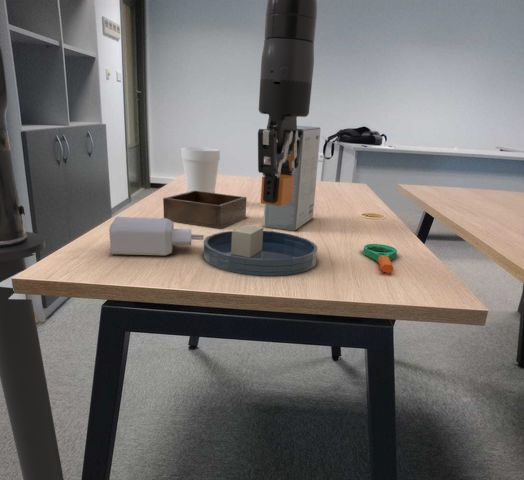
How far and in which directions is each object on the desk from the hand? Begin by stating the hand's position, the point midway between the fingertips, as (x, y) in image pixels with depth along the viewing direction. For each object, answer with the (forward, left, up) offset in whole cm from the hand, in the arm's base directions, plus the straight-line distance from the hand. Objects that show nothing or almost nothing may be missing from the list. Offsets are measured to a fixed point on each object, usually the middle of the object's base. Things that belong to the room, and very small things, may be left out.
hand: (276, 199), depth 76 cm
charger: (-19, -5, -10) cm, 22 cm away
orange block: (0, 0, -1) cm, 1 cm away
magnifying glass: (+17, +10, -10) cm, 22 cm away
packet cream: (-5, 0, -9) cm, 11 cm away
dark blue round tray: (-2, 0, -10) cm, 10 cm away
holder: (-24, +22, -10) cm, 34 cm away
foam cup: (-34, +38, -10) cm, 52 cm away
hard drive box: (-7, +30, -10) cm, 33 cm away
